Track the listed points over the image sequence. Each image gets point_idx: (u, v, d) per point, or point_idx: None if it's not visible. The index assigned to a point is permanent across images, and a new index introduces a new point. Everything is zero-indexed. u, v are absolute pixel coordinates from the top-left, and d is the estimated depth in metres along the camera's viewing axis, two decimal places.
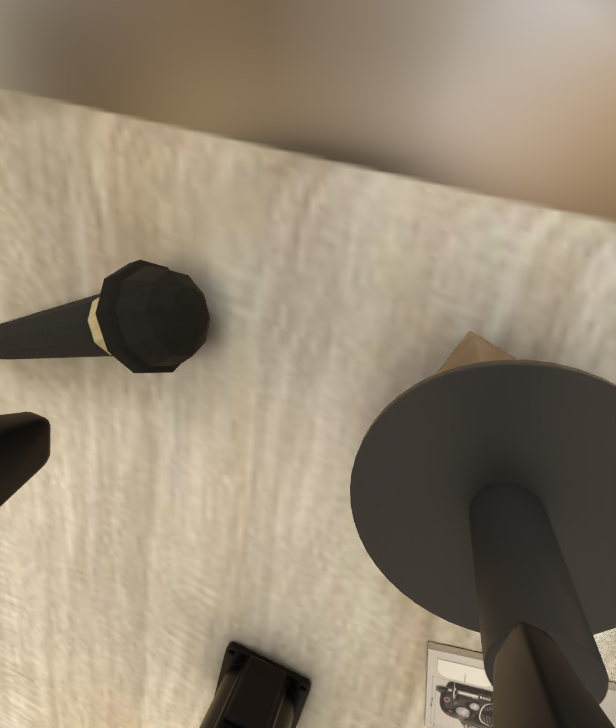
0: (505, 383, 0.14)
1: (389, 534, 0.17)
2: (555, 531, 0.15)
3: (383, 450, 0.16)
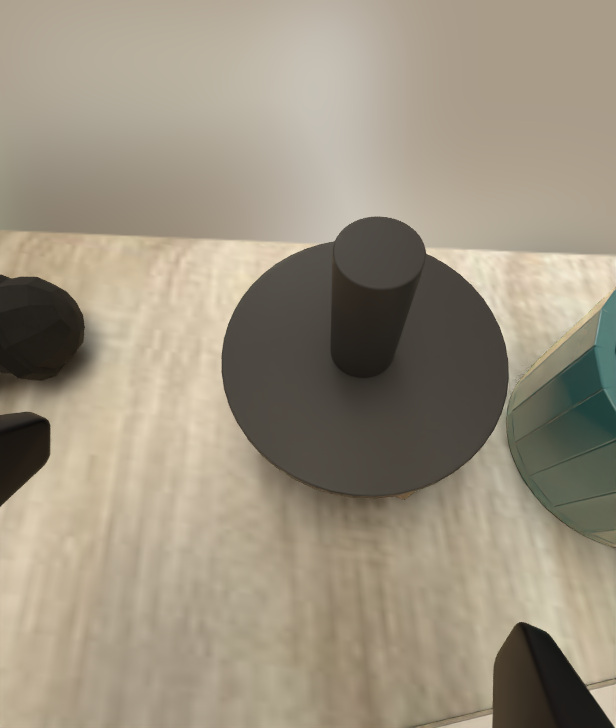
0: (325, 255, 0.19)
1: (266, 406, 0.16)
2: (403, 349, 0.17)
3: (247, 324, 0.18)
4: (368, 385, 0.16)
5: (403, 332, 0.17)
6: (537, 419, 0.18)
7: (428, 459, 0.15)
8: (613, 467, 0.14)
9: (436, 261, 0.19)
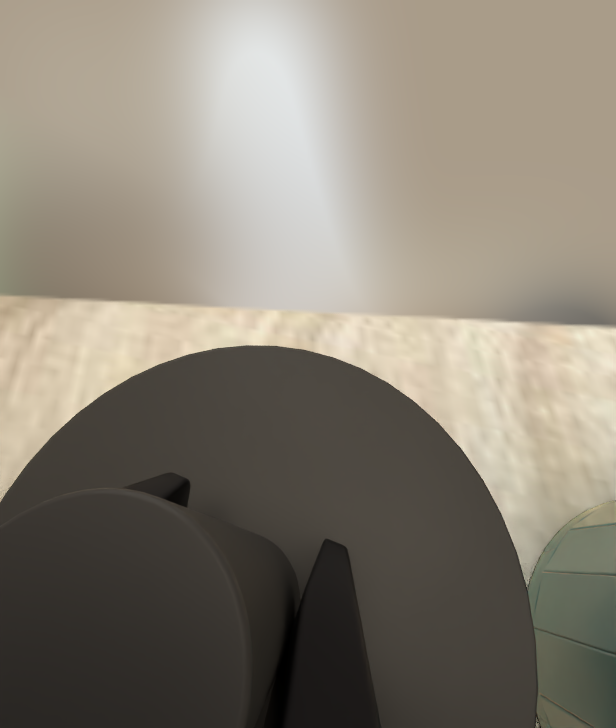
0: (193, 377, 0.10)
1: None
2: None
3: None
4: None
5: None
6: (588, 706, 0.09)
7: None
8: None
9: (396, 393, 0.10)
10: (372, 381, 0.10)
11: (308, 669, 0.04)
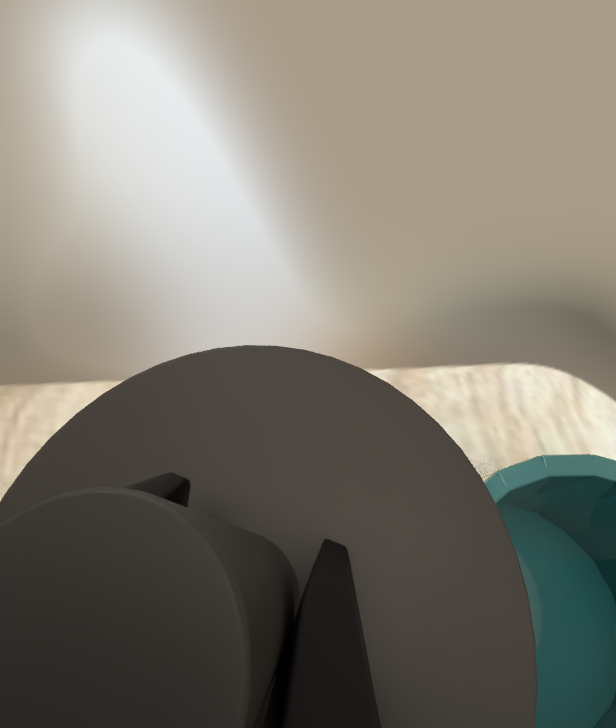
0: (193, 377, 0.10)
1: None
2: None
3: None
4: None
5: None
6: None
7: None
8: None
9: (396, 393, 0.10)
10: (372, 381, 0.10)
11: (308, 669, 0.04)
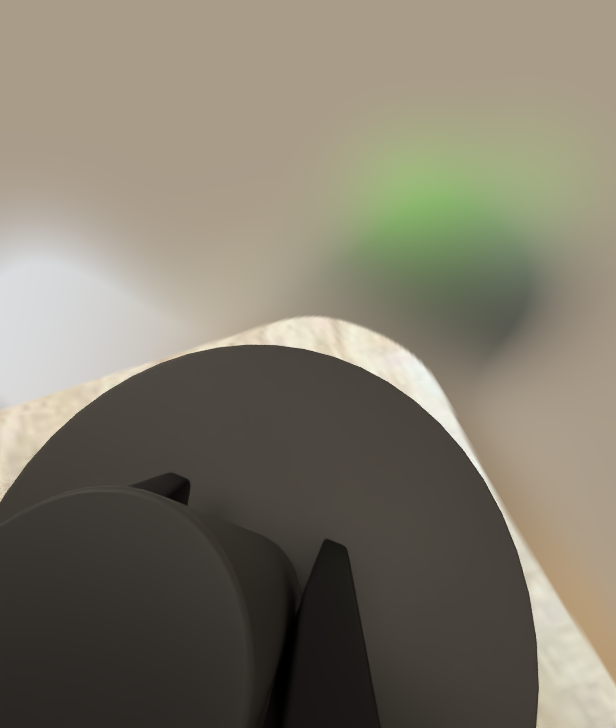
0: (194, 376, 0.10)
1: None
2: None
3: None
4: None
5: None
6: None
7: None
8: None
9: (397, 393, 0.10)
10: (372, 380, 0.10)
11: (308, 669, 0.04)
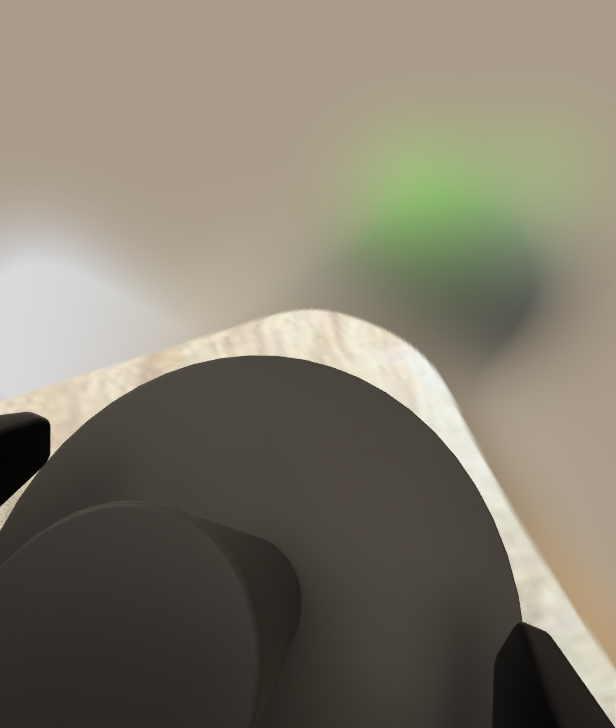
0: (198, 386, 0.11)
1: None
2: (318, 606, 0.09)
3: (33, 537, 0.09)
4: None
5: (322, 562, 0.09)
6: None
7: None
8: None
9: (394, 402, 0.10)
10: (370, 390, 0.11)
11: None
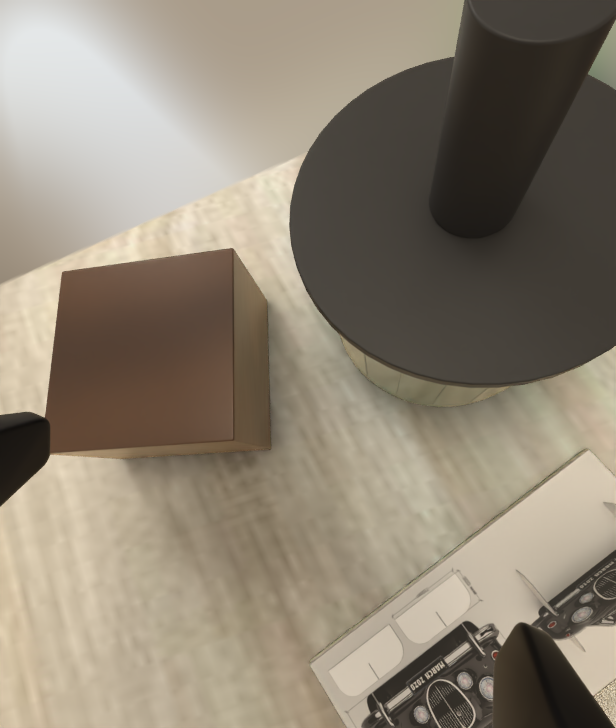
0: (413, 83, 0.14)
1: (352, 283, 0.13)
2: (530, 196, 0.13)
3: (318, 184, 0.14)
4: (484, 247, 0.12)
5: None
6: None
7: (572, 335, 0.11)
8: None
9: None
10: None
11: None
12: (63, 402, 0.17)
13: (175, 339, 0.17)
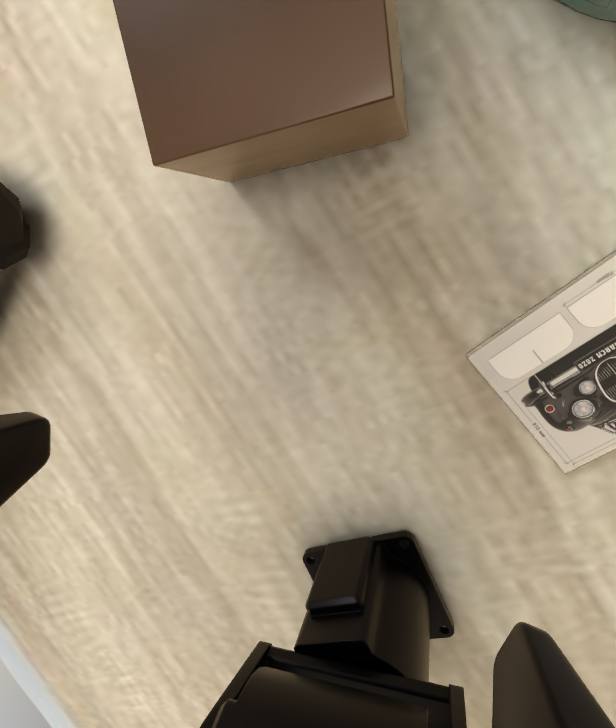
0: None
1: None
2: None
3: None
4: None
5: None
6: None
7: None
8: None
9: None
10: None
11: None
12: (156, 92, 0.13)
13: None
